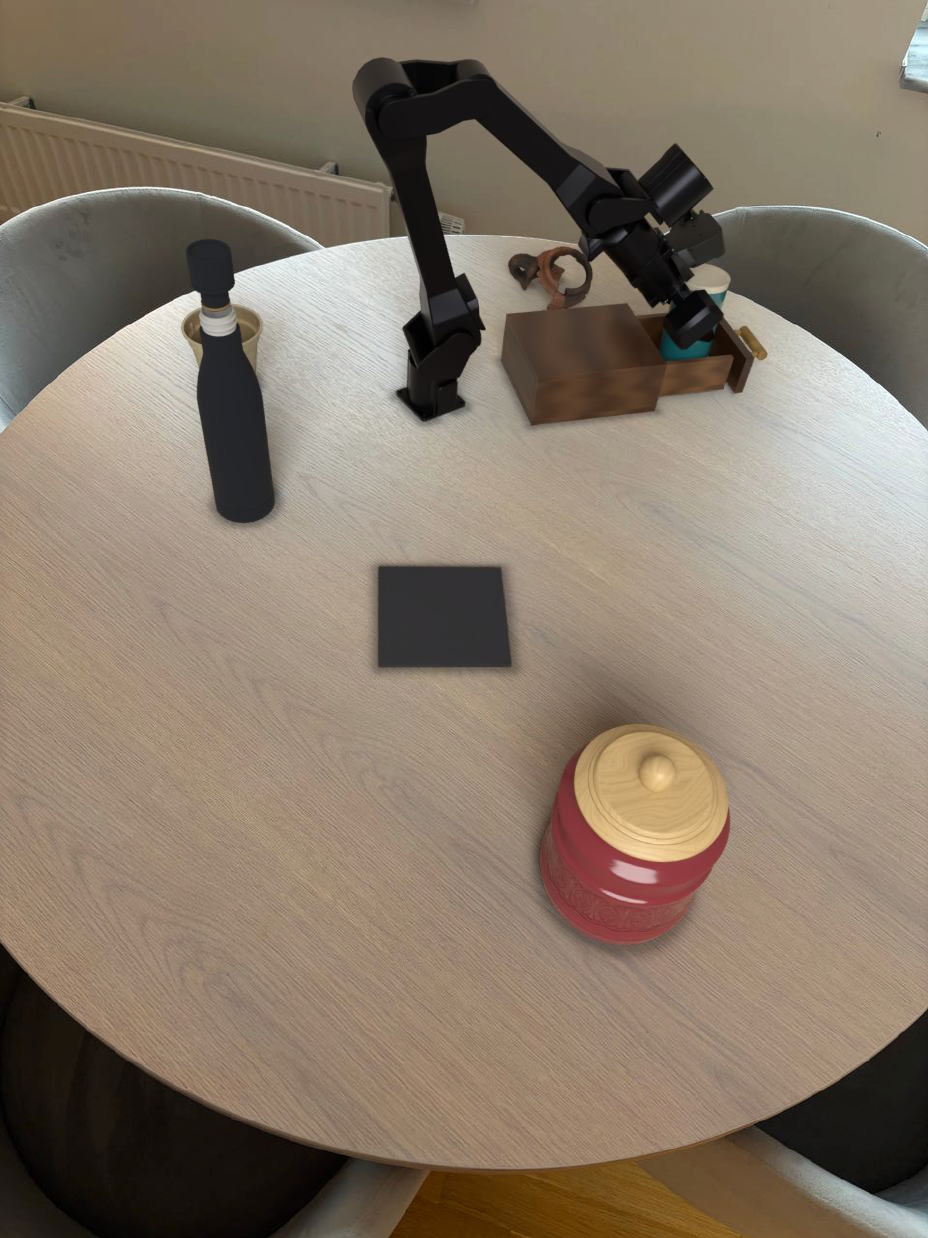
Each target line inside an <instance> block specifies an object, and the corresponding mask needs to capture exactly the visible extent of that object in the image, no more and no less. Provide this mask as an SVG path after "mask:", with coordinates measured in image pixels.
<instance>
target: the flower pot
mask: <svg viewBox="0 0 928 1238" xmlns="http://www.w3.org/2000/svg"><path fill="white" fill-rule="evenodd" d="M231 305H232V306H233V309H234V310H235V312H236V319H237V323H238V324H239V325H240V330H241V338H242V346H243V351H244V352H245V354H246V356H247V358H248V360H249V361H250V363H251V365H252V367H253V369H254V371H255V374H256V375H257V366H258V365H257V364H258V362H257V361H258V344H259V341H260V339H261V336H260V335H261V334H262V333H263V327H264V325H263V321H262V317H261V315H259V314H258V313H257V312H256V311H255V310H253V309H251V308H250V307H247V306H246V305H241V304H235V303H232V302H231ZM200 309H201V307H198V308H196V309H194V310H192V311H191V312H189V313H188V314H187V315H186V316H185V317H184V318H183V320H182V322H181V324H180V330H181V334H182V337H183V338H184V339H185V340H186V341H187V343H188V346H189V347H190V348H191V350H192V352H193V355H194V357H195V360H196V363H197V366H198V369H199V368H200V363H201V359H202V355H203V350H202V344H201V338H200V332H199V328H200V325H201V324H200V318H199V314H200Z"/></svg>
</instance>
